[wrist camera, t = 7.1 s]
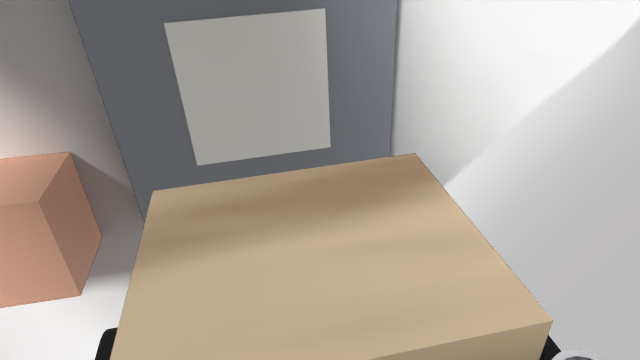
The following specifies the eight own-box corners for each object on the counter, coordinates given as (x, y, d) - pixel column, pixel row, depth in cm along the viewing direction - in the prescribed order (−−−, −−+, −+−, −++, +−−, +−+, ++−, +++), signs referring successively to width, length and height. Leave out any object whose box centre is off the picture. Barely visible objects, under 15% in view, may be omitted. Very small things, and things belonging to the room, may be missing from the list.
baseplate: (56, -66, 18) (45, -65, 17) (392, -86, 20) (402, -86, 19) (149, 215, 26) (146, 228, 25) (382, 180, 28) (388, 190, 27)
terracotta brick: (-52, 163, 22) (-115, 220, 18) (70, 150, 23) (37, 201, 19) (-4, 250, 25) (-48, 315, 21) (102, 236, 26) (80, 295, 22)
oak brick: (152, 191, 9) (94, 417, 5) (415, 153, 10) (552, 319, 6) (206, 361, 12) (198, 586, 8) (401, 321, 13) (485, 508, 9)
